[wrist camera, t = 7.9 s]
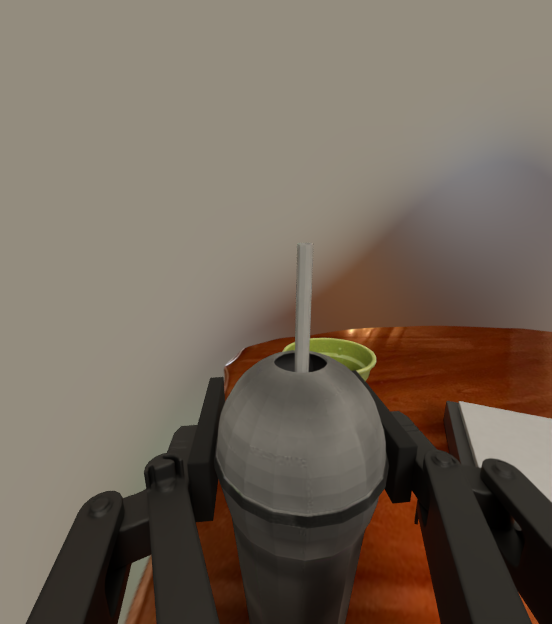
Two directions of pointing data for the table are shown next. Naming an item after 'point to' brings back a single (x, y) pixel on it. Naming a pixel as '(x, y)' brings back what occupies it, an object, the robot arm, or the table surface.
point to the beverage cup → (300, 475)
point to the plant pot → (343, 353)
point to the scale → (501, 440)
